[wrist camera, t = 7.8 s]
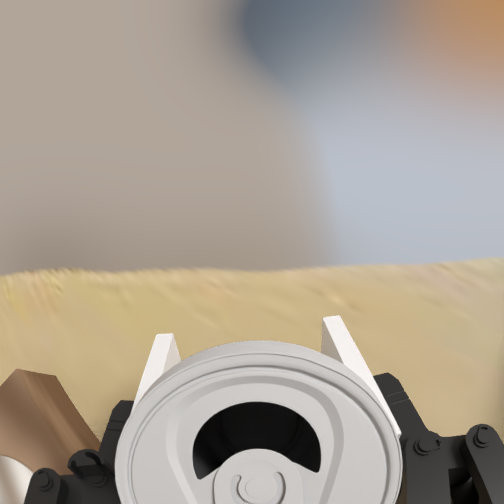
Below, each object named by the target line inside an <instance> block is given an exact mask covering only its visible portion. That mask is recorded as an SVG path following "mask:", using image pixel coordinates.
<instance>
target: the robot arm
mask: <svg viewBox="0 0 504 504" xmlns="http://www.w3.org/2000/svg"><path fill="white" fill-rule="evenodd" d="M321 353H322V354H324V355H326V356H329V357H331V358H333V359H335V360H337V361H339V362H341V363H342V364H344V365H345V366H347V367H348V368H349V369H351V370H352V371H353V372H354V373H356V374H357V375H358V376H359V377H360V378H361V379H362V380H363V381H364V382H365V383H366V384H367V385H368V386H369V387H370V388H371V390H372V391H373V392H374V393H375V395H376V396H377V398H378V400H379V401H380V403H381V405H382V406H383V408H384V409H385V411H386V413H387V414H388V416H389V418H390V419H391V421H392V423H393V425H394V428H395V430H396V433H397V436H398V439H399V443H400V447H401V453H402V479H401V485H400V490H399V494H398V497H397V500H396V503H395V504H504V444H503V443H502V441H501V439H500V437H499V435H498V434H497V432H496V431H495V430H494V428H493V427H491V426H489V425H486V424H479V425H475V426H473V427H472V428H470V430H469V431H468V433H467V434H466V435H460V436H452V437H441V436H439V435H438V434H436V433H434V432H432V431H429V430H428V429H427V428H426V426H425V425H424V423H423V421H422V420H421V418H420V416H419V414H418V413H417V411H416V409H415V407H414V406H413V404H412V402H411V401H410V399H409V397H408V395H407V394H406V392H404V389H403V387H402V385H401V384H400V382H399V380H398V379H396V378H395V377H394V376H392V375H391V374H390V373H384V374H380V375H376V376H372V374H371V372H370V370H369V369H368V367H367V365H366V363H365V361H364V359H363V357H362V356H361V354H360V352H359V350H358V348H357V346H356V345H355V343H354V341H353V339H352V337H351V335H350V334H349V332H348V330H347V328H346V326H345V325H344V323H343V321H342V319H341V317H340V316H339V315H337V316H331V317H324V318H322V347H321ZM179 362H181V359H180V356H179V352H178V349H177V345H176V342H175V338H174V335H173V333H171V334H157V335H156V338H155V341H154V344H153V346H152V349H151V352H150V355H149V358H148V361H147V364H146V367H145V370H144V373H143V376H142V379H141V382H140V385H139V389H138V392H137V395H136V398H135V401H125V400H121V401H120V402H119V403H118V404H117V405H116V406H115V408H114V409H113V410H112V413H111V416H110V419H109V422H108V425H107V427H106V431H105V433H104V436H103V439H102V442H101V445H100V448H99V451H98V452H97V451H95V450H93V449H83V450H79V451H77V452H76V453H74V454H73V455H72V456H71V458H70V459H69V460H68V465H67V467H68V468H69V469H70V470H71V471H72V472H73V473H74V474H71V475H59V474H58V473H57V472H56V471H55V470H53V469H50V468H41V469H38V470H37V471H36V472H35V473H33V475H32V477H31V479H30V482H29V486H28V489H27V493H26V496H25V500H24V504H121V501H120V498H119V494H118V491H117V486H116V481H115V456H116V450H117V445H118V441H119V438H120V435H121V433H122V430H123V428H124V426H125V424H126V421H127V420H128V418H129V417H130V415H131V413H132V412H133V410H134V409H135V407H136V406H137V404H138V402H139V401H140V399H141V398H142V396H143V395H144V394H145V392H146V391H147V390H148V388H149V387H150V386H151V385H152V384H153V383H154V382H155V381H156V380H157V379H158V378H159V377H160V376H161V375H162V374H164V373H165V372H166V371H168V370H169V369H170V368H172V367H173V366H175V365H176V364H178V363H179Z"/></svg>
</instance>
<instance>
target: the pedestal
mask: <svg viewBox="0 0 504 504" xmlns="http://www.w3.org/2000/svg"><path fill="white" fill-rule="evenodd" d="M100 445H101V443H100V441H99V440H98V439H97V437H96V436H95V435H94V433H93V432H92V431H91V429H90V428H89V427H88V425H87V424H86V422H85V421H84V420H83V418H82V417H81V415H80V414H79V412H78V411H77V409H76V408H75V406H74V405H73V403H72V402H71V400H70V399H69V397H68V395H67V394H66V392H65V391H64V389H63V387H62V386H61V384H60V382H59V381H58V379H57V377H56V376H54V375H47V374H41V373H36V372H30V371H25V370H20V369H16V370H15V371H14V372H13V373H12V374H11V375H10V376H9V377H8V378H7V380H6V381H5V382H4V383H3V384H2V385H1V386H0V504H24V500H25V496H26V493H27V489H28V486H29V482H30V479H31V477H32V475H33V473H35V472H36V471H37V470H38V469H41V468H50V469H53V470H55V471H56V472H57V473H58V474H59V475H71V474H74V473H73V472H72V471H71V470H70V469H69V468H68V467H67V465H68V460H69V459H70V458H71V456H72V455H73V454H74V453H76V452H77V451H79V450H83V449H93V450H95V451H97V452H98V451H99V448H100Z"/></svg>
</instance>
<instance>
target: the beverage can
mask: <svg viewBox="0 0 504 504" xmlns="http://www.w3.org/2000/svg"><path fill="white" fill-rule="evenodd" d="M401 479H402V453H401V447H400V443H399V439H398V436H397V433H396V430H395V428H394V425H393V423H392V421H391V419H390V418H389V416H388V414H387V413H386V411H385V409H384V408H383V406H382V405H381V403H380V401H379V400H378V398H377V396H376V395H375V393H374V392H373V391H372V390H371V388H370V387H369V386H368V385H367V384H366V383H365V382H364V381H363V380H362V379H361V378H360V377H359V376H358V375H357V374H356V373H354V372H353V371H352V370H351V369H349V368H348V367H347V366H345V365H344V364H342V363H341V362H339V361H337V360H335V359H333V358H331V357H329V356H326V355H324V354H322V353H319V352H317V351H314V350H312V349H310V348H307V347H304V346H300V345H297V344H291V343H285V342H278V341H262V340H254V341H242V342H235V343H229V344H224V345H219V346H216V347H213V348H209V349H206V350H203V351H201V352H198V353H196V354H194V355H192V356H190V357H188V358H186V359H184V360H182V361H181V362H179V363H178V364H176V365H175V366H173V367H172V368H170V369H169V370H168V371H166V372H165V373H164V374H162V375H161V376H160V377H159V378H158V379H157V380H156V381H155V382H154V383H153V384H152V385H151V386H150V387H149V388H148V390H147V391H146V392H145V394H144V395H143V396H142V398H141V399H140V401H139V402H138V404H137V406H136V407H135V409H134V410H133V412H132V413H131V415H130V417H129V418H128V420H127V421H126V424H125V426H124V428H123V430H122V433H121V435H120V438H119V441H118V445H117V450H116V456H115V481H116V486H117V491H118V494H119V498H120V501H121V504H395V503H396V500H397V497H398V494H399V490H400V485H401Z"/></svg>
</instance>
